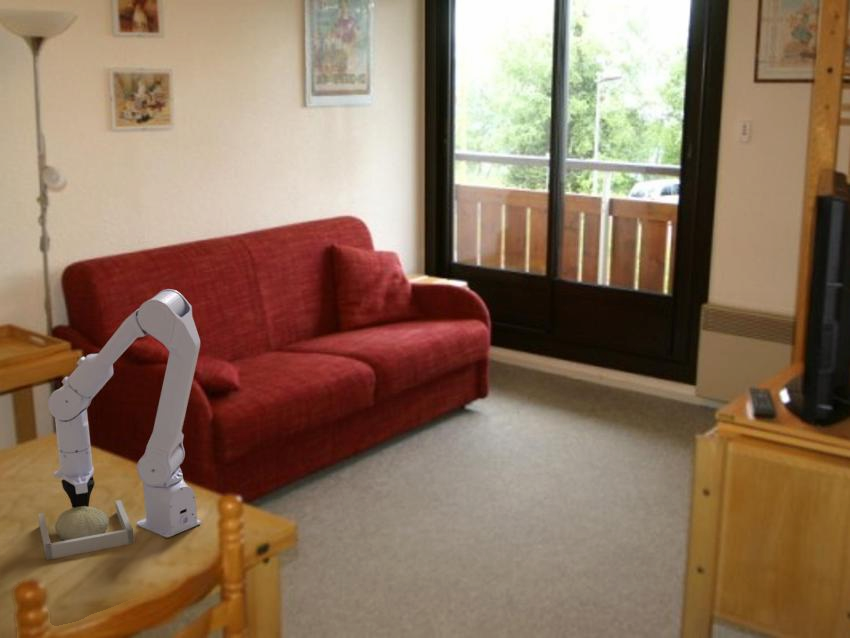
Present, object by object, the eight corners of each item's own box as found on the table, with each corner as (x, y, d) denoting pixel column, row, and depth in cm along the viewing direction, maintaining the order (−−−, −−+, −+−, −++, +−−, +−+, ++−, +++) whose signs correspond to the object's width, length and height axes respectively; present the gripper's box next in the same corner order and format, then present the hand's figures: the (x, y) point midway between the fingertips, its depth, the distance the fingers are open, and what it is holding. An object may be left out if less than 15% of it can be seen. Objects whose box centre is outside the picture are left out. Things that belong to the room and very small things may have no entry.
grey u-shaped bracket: (134, 543, 190) (133, 530, 189) (46, 559, 184) (45, 546, 183) (121, 511, 203) (120, 499, 202) (39, 526, 197) (38, 514, 196)
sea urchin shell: (98, 537, 188) (65, 506, 187) (72, 564, 190) (40, 533, 190) (121, 515, 197) (89, 486, 196) (95, 541, 199) (64, 512, 198)
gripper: (48, 438, 200) (55, 505, 203) (55, 464, 187) (62, 534, 190) (86, 432, 203) (93, 498, 206) (96, 457, 190) (103, 527, 193)
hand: (81, 515), depth 198 cm, fingers closed
